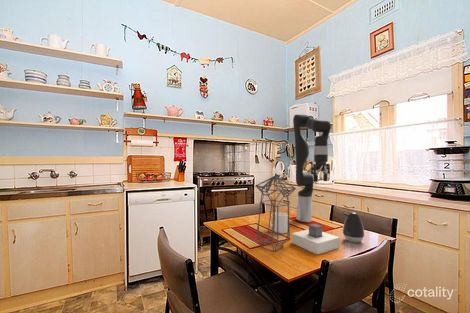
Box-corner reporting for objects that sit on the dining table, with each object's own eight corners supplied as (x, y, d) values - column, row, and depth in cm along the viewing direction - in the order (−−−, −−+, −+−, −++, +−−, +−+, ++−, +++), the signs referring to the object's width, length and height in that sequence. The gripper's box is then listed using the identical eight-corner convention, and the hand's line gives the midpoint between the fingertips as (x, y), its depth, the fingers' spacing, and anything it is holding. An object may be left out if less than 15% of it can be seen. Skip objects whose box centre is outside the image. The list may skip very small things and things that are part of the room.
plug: (308, 244, 116) (308, 224, 116) (314, 243, 119) (314, 223, 119) (315, 247, 113) (316, 227, 113) (321, 245, 115) (322, 225, 115)
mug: (266, 231, 136) (266, 214, 136) (269, 227, 143) (270, 211, 143) (286, 234, 131) (287, 216, 131) (289, 230, 139) (289, 213, 139)
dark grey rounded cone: (345, 236, 130) (345, 209, 130) (365, 240, 123) (366, 212, 123) (339, 241, 122) (340, 212, 122) (361, 246, 115) (362, 215, 115)
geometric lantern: (269, 239, 123) (272, 174, 123) (295, 248, 112) (298, 177, 111) (249, 246, 112) (252, 174, 112) (275, 257, 101) (279, 178, 101)
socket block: (291, 243, 118) (291, 233, 118) (312, 237, 127) (312, 228, 127) (317, 254, 105) (317, 243, 105) (339, 247, 113) (339, 237, 113)
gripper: (323, 154, 143) (322, 180, 143) (307, 153, 135) (307, 181, 135) (334, 154, 136) (333, 181, 136) (318, 153, 129) (317, 182, 129)
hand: (320, 181), depth 136 cm, fingers open, 8 cm apart
